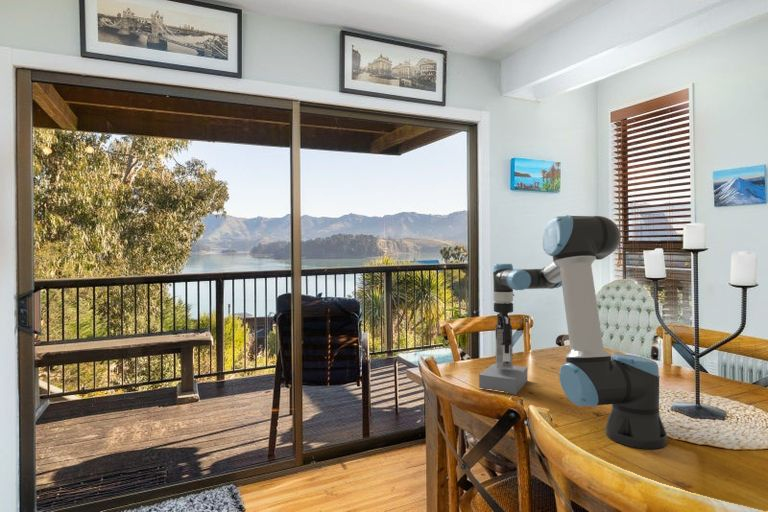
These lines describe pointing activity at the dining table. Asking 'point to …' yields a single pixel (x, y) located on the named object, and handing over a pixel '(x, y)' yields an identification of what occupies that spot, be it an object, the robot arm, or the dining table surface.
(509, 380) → the grey flat block
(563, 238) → the robot arm
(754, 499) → the dining table surface
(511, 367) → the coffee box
